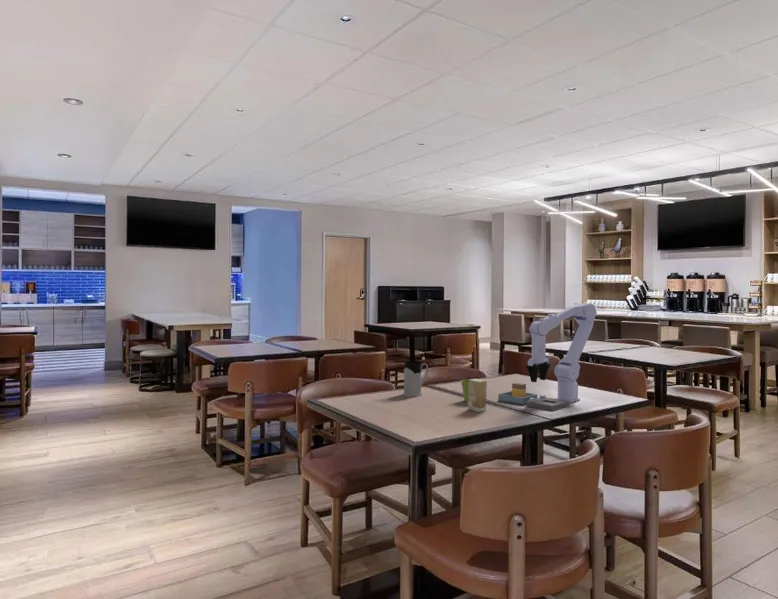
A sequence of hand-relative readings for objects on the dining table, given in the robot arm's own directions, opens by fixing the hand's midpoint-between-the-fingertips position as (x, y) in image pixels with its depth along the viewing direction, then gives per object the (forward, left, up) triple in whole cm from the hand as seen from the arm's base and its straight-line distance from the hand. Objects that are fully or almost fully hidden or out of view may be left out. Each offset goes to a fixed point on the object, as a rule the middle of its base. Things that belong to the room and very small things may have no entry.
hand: (538, 381), depth 235 cm
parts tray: (+3, -8, -9) cm, 13 cm away
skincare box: (+31, -10, -10) cm, 34 cm away
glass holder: (+23, -49, -10) cm, 55 cm away
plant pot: (+18, -22, -10) cm, 30 cm away
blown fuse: (+3, -8, -9) cm, 12 cm away
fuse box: (+3, +6, -9) cm, 12 cm away
